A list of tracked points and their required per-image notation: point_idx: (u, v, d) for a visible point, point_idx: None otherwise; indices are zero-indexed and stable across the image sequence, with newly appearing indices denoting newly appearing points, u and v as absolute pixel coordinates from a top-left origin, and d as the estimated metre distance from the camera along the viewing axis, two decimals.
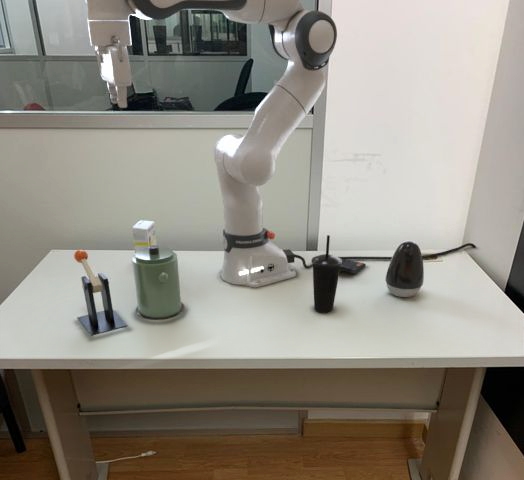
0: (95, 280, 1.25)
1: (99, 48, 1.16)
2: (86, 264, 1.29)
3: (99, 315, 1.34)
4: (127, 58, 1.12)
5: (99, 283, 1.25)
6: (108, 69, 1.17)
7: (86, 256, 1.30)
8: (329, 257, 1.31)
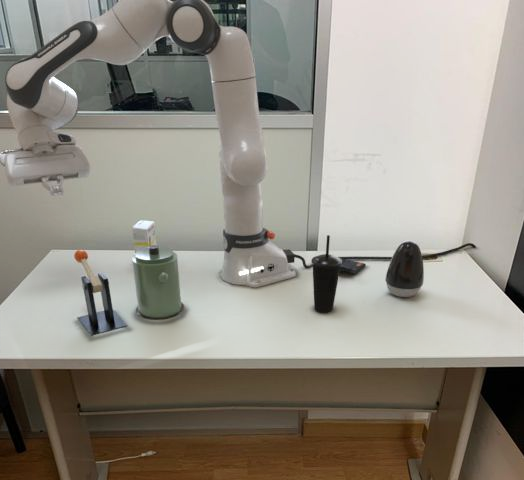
0: (95, 280, 1.25)
1: None
2: (86, 264, 1.29)
3: (99, 315, 1.34)
4: (4, 160, 1.29)
5: (99, 283, 1.25)
6: None
7: (86, 256, 1.30)
8: (329, 257, 1.31)
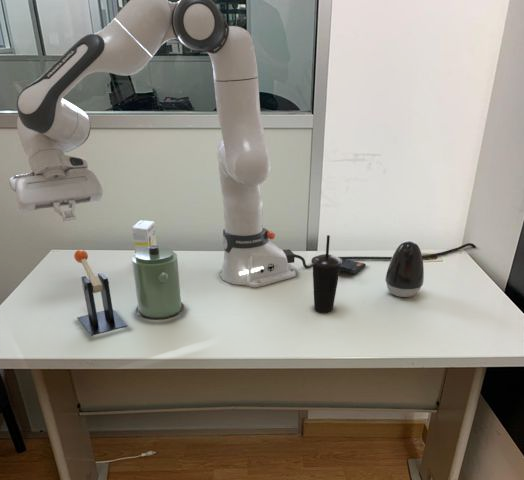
0: (95, 280, 1.25)
1: None
2: (86, 264, 1.29)
3: (99, 315, 1.34)
4: (15, 186, 1.26)
5: (99, 283, 1.25)
6: None
7: (86, 256, 1.30)
8: (329, 257, 1.31)
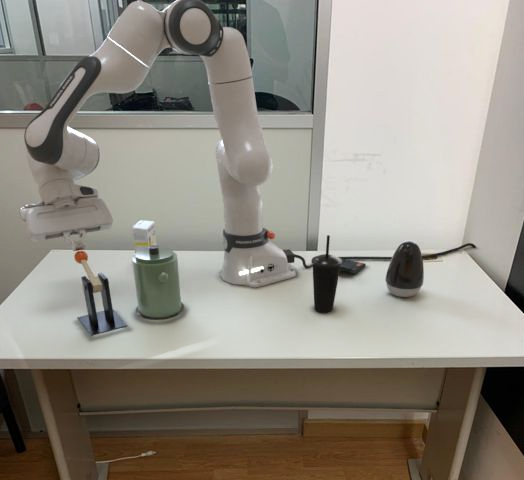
0: (95, 280, 1.25)
1: None
2: (86, 265, 1.29)
3: (99, 315, 1.34)
4: (26, 216, 1.25)
5: (99, 283, 1.25)
6: None
7: (86, 257, 1.30)
8: (329, 257, 1.31)
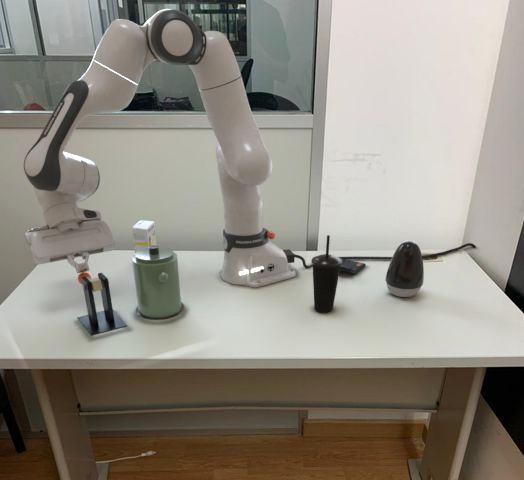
0: (94, 279, 1.26)
1: None
2: (87, 278, 1.31)
3: (99, 315, 1.34)
4: (31, 240, 1.28)
5: (98, 279, 1.25)
6: None
7: (88, 275, 1.34)
8: (329, 257, 1.31)
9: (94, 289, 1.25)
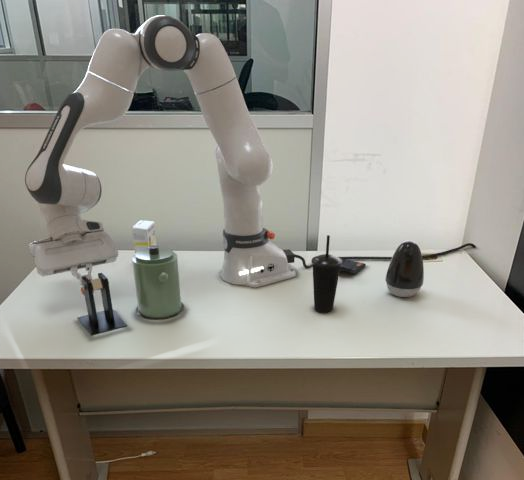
0: None
1: None
2: None
3: (99, 315, 1.34)
4: (34, 252, 1.29)
5: None
6: None
7: None
8: (329, 257, 1.31)
9: (94, 287, 1.25)
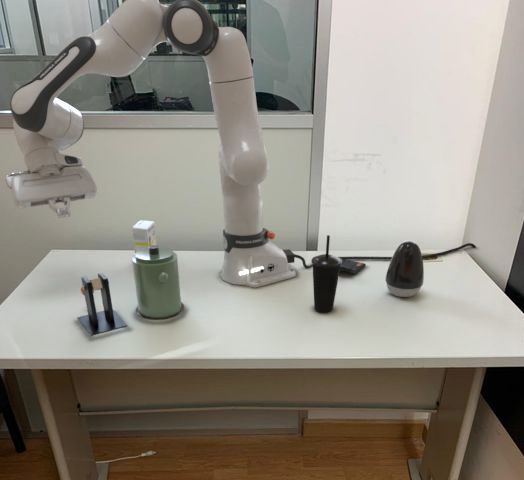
0: None
1: None
2: None
3: (99, 315, 1.34)
4: (11, 183, 1.29)
5: None
6: None
7: None
8: (329, 257, 1.31)
9: (94, 287, 1.25)
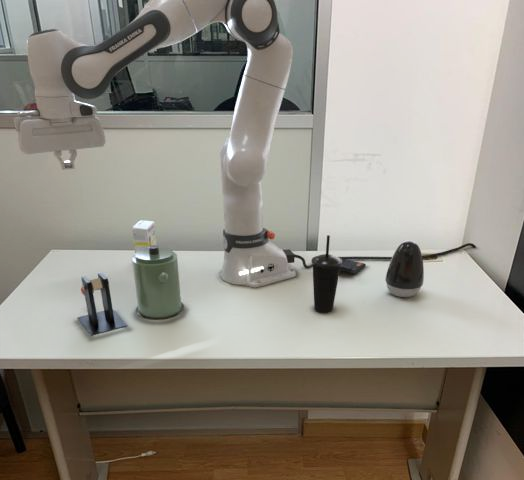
0: None
1: None
2: None
3: (99, 315, 1.34)
4: (20, 130, 1.23)
5: None
6: None
7: None
8: (329, 257, 1.31)
9: (94, 287, 1.25)
